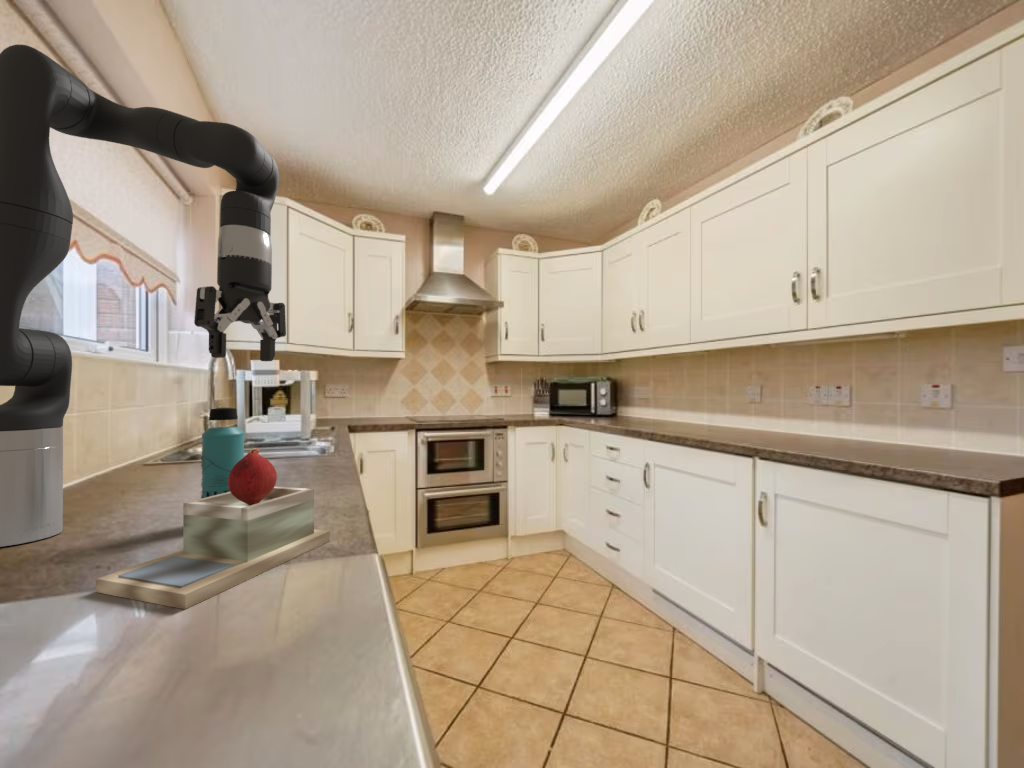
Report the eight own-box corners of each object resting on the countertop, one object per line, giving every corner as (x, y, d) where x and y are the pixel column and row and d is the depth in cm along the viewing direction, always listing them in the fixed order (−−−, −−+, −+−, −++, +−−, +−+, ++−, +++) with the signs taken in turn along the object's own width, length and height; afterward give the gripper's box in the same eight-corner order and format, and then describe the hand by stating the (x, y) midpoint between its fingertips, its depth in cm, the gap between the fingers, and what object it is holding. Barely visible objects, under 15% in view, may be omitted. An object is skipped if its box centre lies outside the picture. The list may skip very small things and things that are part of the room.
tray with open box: (96, 592, 48) (96, 520, 49) (257, 533, 68) (257, 482, 69) (185, 609, 44) (185, 531, 44) (329, 540, 64) (329, 487, 64)
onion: (253, 512, 56) (252, 451, 57) (217, 510, 58) (217, 451, 58) (286, 501, 62) (285, 446, 62) (253, 500, 63) (252, 445, 64)
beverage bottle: (240, 514, 79) (240, 406, 80) (250, 522, 75) (249, 407, 75) (197, 522, 75) (197, 408, 75) (204, 531, 70) (204, 408, 70)
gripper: (265, 273, 78) (264, 362, 78) (183, 248, 64) (181, 356, 64) (298, 270, 75) (296, 362, 75) (219, 243, 62) (217, 355, 62)
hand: (243, 359), depth 70 cm, fingers open, 8 cm apart
